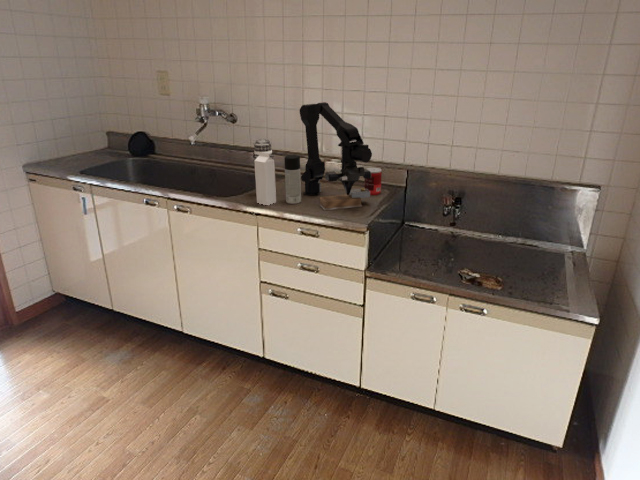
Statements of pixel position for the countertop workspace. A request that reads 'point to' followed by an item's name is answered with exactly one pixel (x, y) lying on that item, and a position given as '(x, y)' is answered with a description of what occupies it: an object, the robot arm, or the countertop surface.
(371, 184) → the canned food
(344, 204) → the body
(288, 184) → the spray can
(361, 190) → the lever cap
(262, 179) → the milk
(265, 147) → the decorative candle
